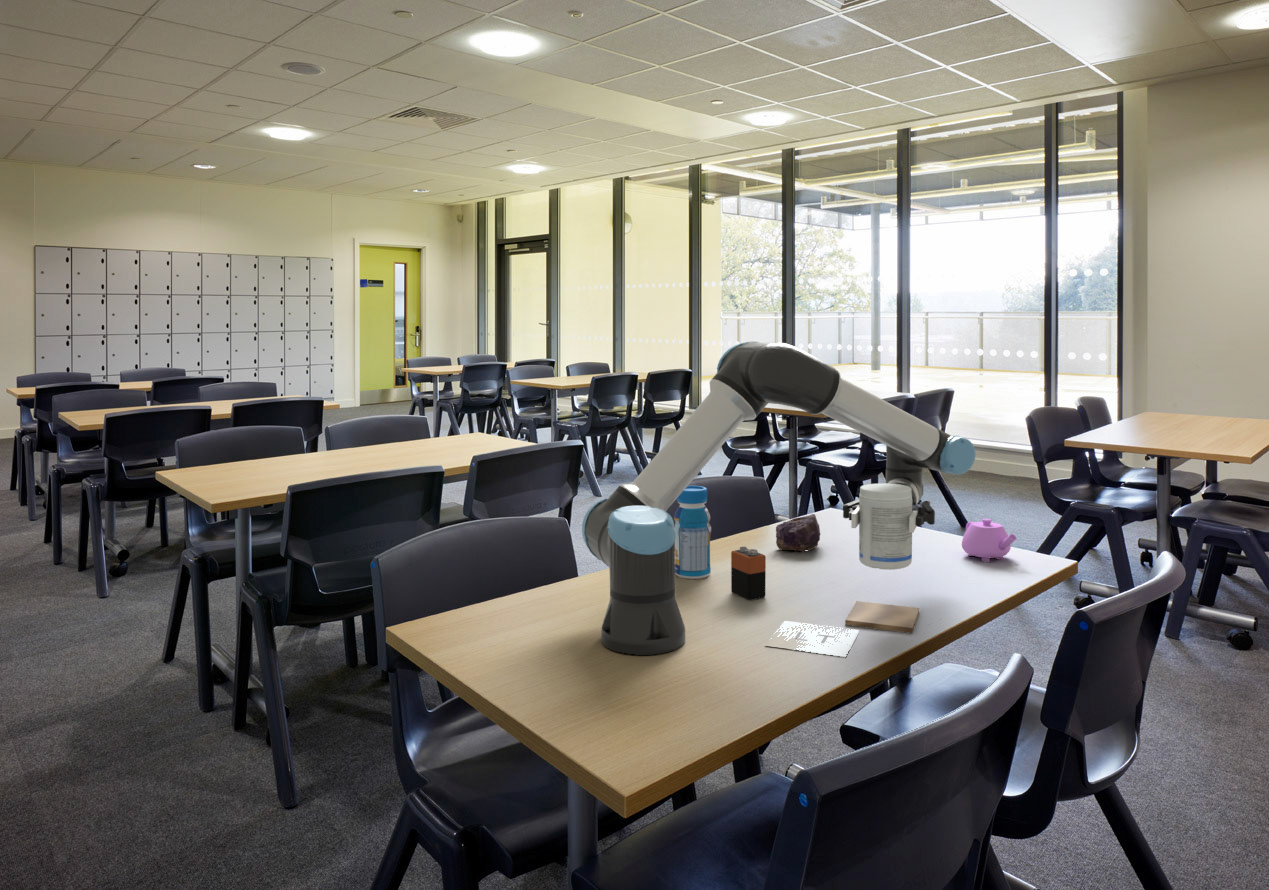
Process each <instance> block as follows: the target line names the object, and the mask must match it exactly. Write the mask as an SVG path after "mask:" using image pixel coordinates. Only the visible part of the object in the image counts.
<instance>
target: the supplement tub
mask: <svg viewBox="0 0 1269 890" xmlns="http://www.w3.org/2000/svg"><path fill="white" fill-rule="evenodd" d="M858 496H859V497H858V499H859V525H858V533H859V534H858V537H859V538H858V541H859V542H858V543H859V544H858V545H859V548H858V551H859V552H858V555H859V556H858V558H859V562H860V563H861V564H862V565H864V566H866V567H868V568H872V569H878V570H891V571H892V570H900V569H904V568H908V567H909V566H910V565H911V564H912V561H913V533H911V532H909V517H910V516H911V514H912V491H911V488H910V487H909V486H905V485H900V484H886V482H885V483H884V482H883V483H867V484H864V485H861V486H860V487H859V495H858Z"/></svg>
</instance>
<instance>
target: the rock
mask: <svg viewBox="0 0 1269 890" xmlns="http://www.w3.org/2000/svg"><path fill="white" fill-rule="evenodd" d="M816 516H817V515H816V514H814V513H812V514H810V515H804V516H801V517H794V518H792V519H790V520H788V521H783V522H782V523H780V524H777V525H776V526H775V538H776V540H775V543H776V546H777V548H778V550H781V549H782V550H794V551H798V552H799V551H800V552H801V551H804V552H806V551H805V550H809V551H810V550H813V549H814V548H815V547H818V545H819V542H820V540H821V539H820V538H821V529H820V525H819V522H818V520H817V517H816ZM782 550H781V551H782Z"/></svg>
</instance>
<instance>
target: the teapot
mask: <svg viewBox="0 0 1269 890" xmlns="http://www.w3.org/2000/svg"><path fill="white" fill-rule="evenodd" d="M1016 540H1017V536H1016V535H1014V533H1010V534H1008V533H1007V531H1006V529H1005V527H1004V525H1002V524H1000V523H998V522H993V519H991V518H982V519H981V521H976V522H975V521H969V522H967V523H966V525H965V532H964V534H963V537H962V540H961V548H962V549H963V551H964V553H966V554H967V555H968V556H975V557H977V558H978V557H979V558H981V559H980V560H982V562H984V561H989V562H990V560H991V559H993V558H995V559H996V558H998V559H997V560H1004V559H1005V556H1007V554H1008V553H1010V550H1011V546H1012V544H1013V543H1014V542H1015V541H1016ZM968 556H967V557H968Z"/></svg>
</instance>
